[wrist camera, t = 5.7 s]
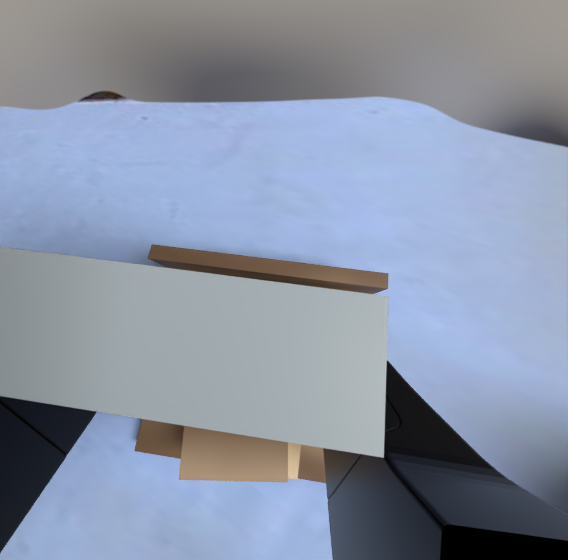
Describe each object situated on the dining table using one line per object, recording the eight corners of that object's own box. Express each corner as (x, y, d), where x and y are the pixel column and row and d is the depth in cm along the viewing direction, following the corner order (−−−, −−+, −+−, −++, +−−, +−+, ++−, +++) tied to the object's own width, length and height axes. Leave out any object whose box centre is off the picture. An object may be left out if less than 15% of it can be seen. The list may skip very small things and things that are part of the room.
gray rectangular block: (301, 344, 14) (384, 457, 2) (214, 332, 15) (-169, 368, 2) (303, 320, 15) (388, 295, 2) (219, 309, 15) (-95, 233, 3)
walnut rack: (350, 477, 16) (379, 547, 11) (143, 443, 16) (82, 493, 11) (361, 287, 19) (388, 273, 14) (186, 264, 19) (151, 244, 14)
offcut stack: (296, 465, 15) (298, 500, 12) (191, 448, 15) (168, 477, 12) (305, 375, 16) (309, 386, 13) (208, 361, 17) (191, 369, 14)
